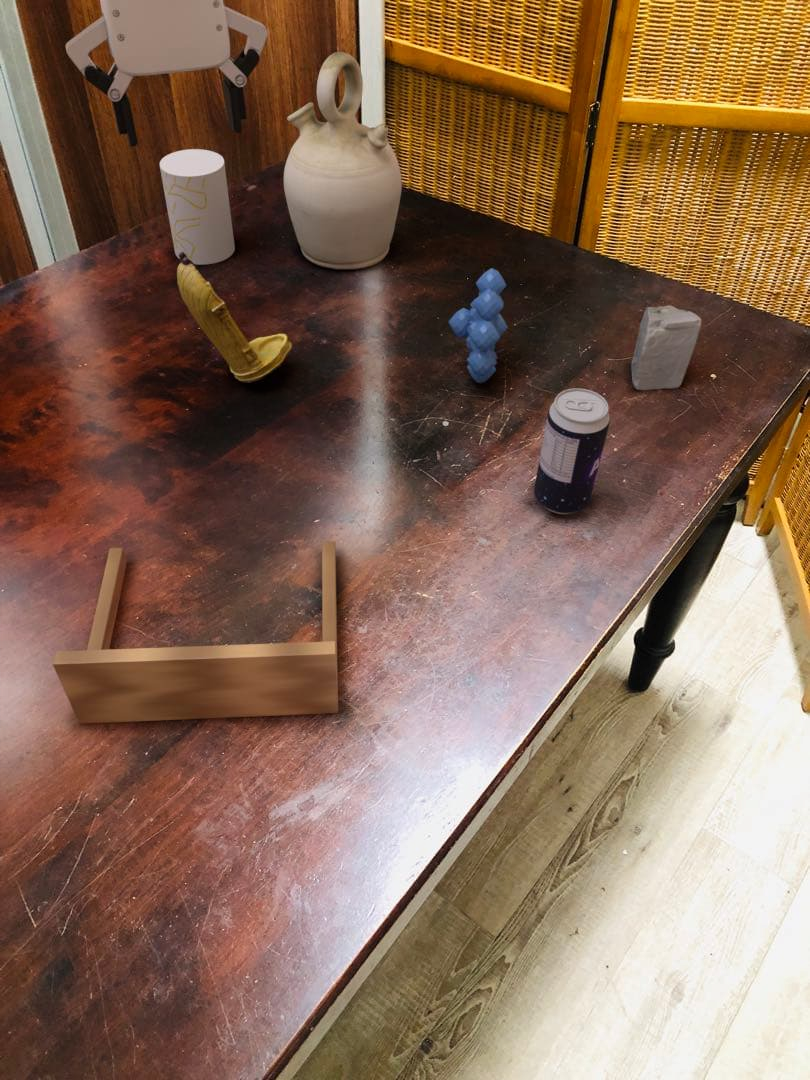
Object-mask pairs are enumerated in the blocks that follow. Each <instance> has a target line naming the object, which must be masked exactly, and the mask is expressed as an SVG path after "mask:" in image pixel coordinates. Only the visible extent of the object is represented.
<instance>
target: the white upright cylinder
mask: <svg viewBox="0 0 810 1080" xmlns="http://www.w3.org/2000/svg"><path fill="white" fill-rule="evenodd" d="M159 169H160V175H161V181H162V186H163V193H164V198H165V204H166V209H167V215H168V221H169V226H170V227H169V228H170V233H171V237H172V238H171V239H172V243H173V250H174V254H175V256H176V257H177V258H178V259H179V260H180V258H179V253H181V252H184V253H185V254H186V255H187V257H188V259H190V260H191V261H192V262H193V263H194V265H200V266H201V265H211V264H218V263H220V262H223V261H225V260H227V259H229V258H230V257H231V256H232V255H233V254H234V253H235V249H236V245H235V239H234V230H233V221H232V214H231V206H230V198H229V188H228V181H227V173H226V172H227V171H226V164H225V159H224V157H223V156H222V155H221V154H219V153H217V152H215V151H212V150H208V149H200V148H191V149H189V148H188V149H182V150H177V151H173V152H171V153H168V154H167V155H165V156H164V157H162V158H161V160H160V161H159Z"/></svg>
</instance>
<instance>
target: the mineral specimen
mask: <svg viewBox="0 0 810 1080" xmlns="http://www.w3.org/2000/svg"><path fill="white" fill-rule="evenodd" d="M644 309H645V310H644V313H643V316H642V319H641V321H640V325H639V329H638V334H637V338H636V339H637V340H636V342H635V343H636V344H635V349H634V352H633V356H632V357H633V358H632V361H631V364H630V365H631V367H630V368H631V380H632V381H631V383H632V386H633V388H634V389H635V390H636V391H652V390H659V391H660V390H663V389H669V390H670V389H677V388H680V387H681V386H682V383H683V381H684V378H685V375H686V373H687V370H688V367H689V364H690V361H691V360H692V357H693V352H694V350H695V347H696V345H697V340H698V338H699V336H698V335H699V333H700V330H701V328H702V320H703V317H700V316H699V315H698V314H696V313H694V312H692V311H691V310H688V311H687V310H685V309H679V308H676V307H675V306H673V305H669V304H668V305H665V306H662V305H658V306H657V307H654V306H648V307H646V308H644Z"/></svg>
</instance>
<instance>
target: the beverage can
mask: <svg viewBox="0 0 810 1080" xmlns="http://www.w3.org/2000/svg"><path fill="white" fill-rule="evenodd" d="M609 409H610V408H609V404H608V401H607V400H606V399H605V398H604V397H603V396H602V395H601V394H599V393H597V392H595V391H593V390H590V389H587V388H579V387H578V388H575V387H574V388H569V389H565V390H562V391H561V392H559V393H558V394H557V395H556V396H555V398H554V401H553V402H552V403H551V404H550V406H549V408H548V411H547V417H546V421H545V427H544V432H543V438H542V444H541V448H540V449H541V450H540V453H539V454H540V455H539V459H538V465H537V471H536V475H535V481H534V487H533V494H534V498H535V499H536V500H537V501H538V503H540V505H542V506H543V507H544V508H545V509H546V510H548V511H550V512H552V513H554V514H557V515H558V514H559V515H569V514H570V515H571V514H573V513H577V512H580V511H582V510H583V509H586V507H587V506H588V505H590V502H591V500H592V494H593V493H594V488H595V484H596V480H597V475H598V473H599V468H600V463H601V460H602V456H603V452H604V448H605V444H606V440H607V436H608V431H609V427H610V423H611V416H610V413H609Z"/></svg>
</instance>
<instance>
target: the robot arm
mask: <svg viewBox="0 0 810 1080" xmlns="http://www.w3.org/2000/svg"><path fill="white" fill-rule="evenodd" d="M99 2H100V9H101V14H102V16H100V17H99V18H98V19H97V20H95V21H93V22H92V23H91V24H89V25H88V26H87V27H85V28H84V29H83V30H82V31H80V32H79V33H78V34H76V35H75V36H73V37H72V38H71V39H70V40H68V41H67V42H66V43H65V50H66V54H67V55H68V57H69V58H70V60H71V61H72V62H73V64H74V66H76V68H77V69H78V70H79V72H81V74H82V75H83V76H84V78H85V79H86V81H87V82H88V83H90V84H91V85H92V86H94V87H95V88H96V89H98V90H99V91H100V92H102V93H103V94H104V95H106V96H107V97H108V99H109V100H110V101H111V104H112V109H113V114H114V117H115V123H116V128H117V131H118V134H119V135H126V137H127V140H128V143H129V147H131V148H133V147H137V145H139V141H138V136H137V131H136V126H135V121H134V117H133V116H134V115H133V111H132V107H131V102H130V99H129V97H128V94H127V89H128V88H129V85H130V84H131V82H132V80H133V78H134V77H144V76H155V75H165V74H172V73H173V74H174V73H182V72H192V71H199V70H200V71H201V70H207V69H213V68H218V70H219V71H221V73H223V74H224V75H225V76H224V79H223V80H222V85H223V93H224V101H225V108H226V109H225V110H226V116H227V121H228V124H229V125H230V127H231V129H232V131H233V132H234V133H236V134H241V133H243V127H242V125H243V124H242V120H247V109H246V101H245V91H244V86H246V85H247V82H248V81H247V80H248V78H249V76H250V75H251V74H252V73H253V71H254V70H255V68H256V67H257V65H258V64H259V62H260V59H261V58H260V57H261V54H262V52H263V49H264V46H265V45H266V41H267V38H268V35H269V31H268V29H267V28H266V26H265V25H264V24H263V23H262V22H260V21H258V20H255V19H253V18H252V17H249V16H247V15H245V14H242V13H241V12H238V11H237V10H234V9H232V8H230V7H227V6H225V4H224V0H99ZM229 28H230V29H232V30H234V31H236V32H238V33H240V34H242V35H245V36H247V37H246V44H245V46H244V47H243V48H242V50H241V51H240V53H239V54H238V56H236V58H235V60H234V59H233V58H232V57H231V41H230V33H229ZM105 41H107V45H108V49H109V52H110V54H111V56H112V58H113V60H114V62H113V64H112V65H111V66H110V69H109V71H108V72H105V71H104V70H103V68H100V67H99V66H98V65H97V64H95V63H94V62H93V60H92V59H91V57H90V56H89V55H90V52H91V51H93V50H94V49H96V48H97V47H98V46H100V45H101V44H102V43H104V42H105Z"/></svg>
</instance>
